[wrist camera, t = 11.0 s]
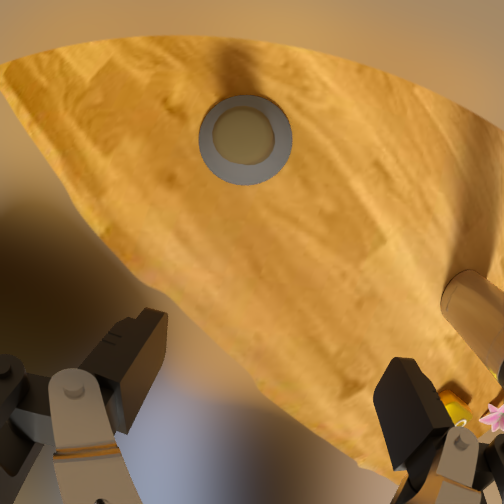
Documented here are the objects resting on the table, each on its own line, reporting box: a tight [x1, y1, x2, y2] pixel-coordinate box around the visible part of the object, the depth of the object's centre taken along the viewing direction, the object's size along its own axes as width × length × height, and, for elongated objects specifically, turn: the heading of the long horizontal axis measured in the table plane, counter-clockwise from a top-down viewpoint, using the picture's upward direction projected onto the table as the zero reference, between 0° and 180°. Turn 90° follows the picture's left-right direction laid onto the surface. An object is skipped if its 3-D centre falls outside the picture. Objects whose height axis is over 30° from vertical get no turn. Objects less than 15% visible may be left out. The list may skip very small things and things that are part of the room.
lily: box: [479, 404, 504, 432], centre depth 44 cm, size 12×12×10 cm
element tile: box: [438, 390, 473, 427], centre depth 46 cm, size 15×15×5 cm
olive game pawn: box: [212, 106, 275, 165], centre depth 28 cm, size 6×6×11 cm
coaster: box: [199, 95, 292, 185], centre depth 33 cm, size 11×11×1 cm
